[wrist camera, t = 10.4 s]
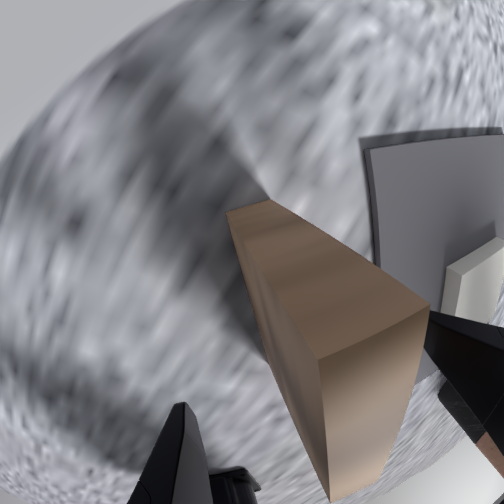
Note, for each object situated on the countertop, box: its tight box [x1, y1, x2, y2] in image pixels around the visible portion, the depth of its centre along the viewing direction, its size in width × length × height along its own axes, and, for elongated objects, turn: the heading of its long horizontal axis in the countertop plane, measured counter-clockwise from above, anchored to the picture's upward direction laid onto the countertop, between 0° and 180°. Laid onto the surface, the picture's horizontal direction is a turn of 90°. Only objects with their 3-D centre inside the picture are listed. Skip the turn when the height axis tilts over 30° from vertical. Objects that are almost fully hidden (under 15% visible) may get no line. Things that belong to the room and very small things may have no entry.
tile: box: [440, 237, 504, 324], centre depth 17 cm, size 8×2×8 cm
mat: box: [364, 134, 504, 385], centre depth 16 cm, size 20×16×1 cm
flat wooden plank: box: [225, 199, 431, 503], centre depth 9 cm, size 9×2×9 cm, turn 13°
